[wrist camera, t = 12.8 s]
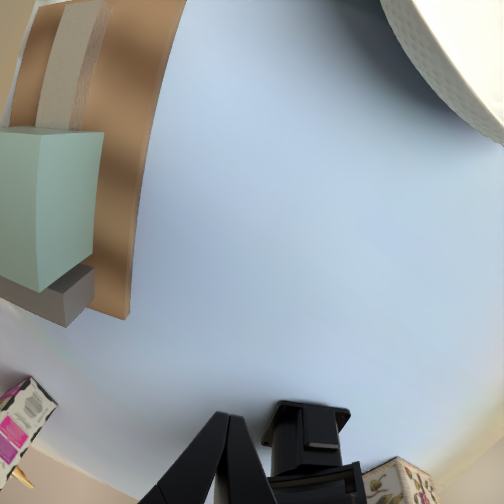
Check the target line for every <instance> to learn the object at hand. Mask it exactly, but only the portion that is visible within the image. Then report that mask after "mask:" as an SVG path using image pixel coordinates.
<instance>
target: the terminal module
mask: <svg viewBox="0 0 504 504" xmlns="http://www.w3.org/2000/svg"><path fill="white" fill-rule="evenodd" d="M104 133H105V132H99V131H71V130H61V129H49V128H35V126H16V127H3V128H0V275H1V276H3V277H5V278H7V279H9V280H11V281H14V282H16V283H18V284H20V285H22V286H25V287H27V288H29V289H31V290H34V291H36V292H38V293H40V292H41V291H43V290H44V289H45V288H47V287H48V286H49V285H50V284H52V283H53V282H54V281H56V280H57V279H58V278H60V277H61V276H62V275H64V274H65V273H66V272H68V271H69V270H70V269H72V268H73V267H74V266H76V265H77V264H78V263H80V262H81V261H83V260H84V259H85V258H87V257H88V256H90V255H91V254H92V253H93V230H94V215H95V202H96V192H97V182H98V174H99V166H100V158H101V152H102V145H103V139H104Z"/></svg>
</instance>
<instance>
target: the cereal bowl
mask: <svg viewBox="0 0 504 504" xmlns="http://www.w3.org/2000/svg"><path fill="white" fill-rule="evenodd" d="M380 2H381V4H382V9H383V10H384V12H385V15H386V18H387V19H388V22H389V25H390V26H391V28H392V30H393V33H394V34H395V35H396V37H397V40H398V41H399V42H400V44H401V46H402V49H403V50H404V51H405V53H406V55H407V56H408V57H409V58H410V60H411V62H412V63H413V64H414V66H415V68H416V69H417V70H418V71H419V72H420V74H421V76H422V77H423V78H424V79H425V80H426V82H427V83H428V84H429V85H430V86H431V88H432V89H433V90H434V91H435V92H436V93H437V95H438V96H439V98H441V99H442V100H443V101H444V102H445V103H446V104H447V105H448V106H449V107H450V109H452V110H453V111H454V112H455V113H456V114H457V115H458V116H459V117H460V118H461V119H462V120H464V121H465V122H467V123H468V124H469V125H470V126H471V127H472V128H474V129H476V130H477V131H479V132H480V133H481V134H483V135H484V136H486V137H488V138H490V139H491V140H493V141H494V142H496V143H499V144H501V145H502V146H504V0H380Z"/></svg>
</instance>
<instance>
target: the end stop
mask: <svg viewBox="0 0 504 504" xmlns="http://www.w3.org/2000/svg"><path fill="white" fill-rule="evenodd" d="M94 272H95V268H93V267H90V266H87V265H84V264H81V263H78V264H77V265H76V266H74V267H73V268H72V269H70V270H69V271H68V272H66V273H65V274H64V275H62V276H61V277H60V278H58V279H57V280H56V281H54V282H53V283H52V284H50V285H49V286H48V287H47V288H45V289H44V290H43V291H41V292H40V293H38V292H36V291H34V290H31V289H29V288H27V287H25V286H22V285H20V284H18V283H16V282H14V281H11V280H9V279H7V278H5V277H3V276H1V275H0V297H1V298H3V299H5V300H7V301H9V302H11V303H13V304H15V305H17V306H19V307H21V308H23V309H25V310H27V311H29V312H32V313H34V314H36V315H38V316H40V317H42V318H45V319H47V320H49V321H51V322H54V323H56V324H58V325H60V326H63V327H65V328H66V327H67V326H68V325H69V324H70V323H71V322H72V321H73V320H74V319H75V318H76V317H77V316H78V315H79V314H80V313H81V312H82V311H83V310H84V309H85V308H86V307H87V306H88V305H89V304H90V303H91V302H92V301H93V300H94V299H95V294H94Z"/></svg>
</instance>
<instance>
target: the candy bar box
mask: <svg viewBox="0 0 504 504" xmlns="http://www.w3.org/2000/svg"><path fill="white" fill-rule="evenodd" d="M56 407H57V404H56V403H55V402H54V401H53V400H52V399H51V398H50V396H49V395H48V394H47V393H46V392H45V391H44V390H43V389H42V388H41V387H40V385H39V384H38V383H37V382H36V381H35V380H34V379H33V378H32V377H28V378H27V379H26V380H24V381H23V382H21V383H20V384H18V385H17V386H15V387H14V388H12V389H11V390H9V391H8V392H6V393H5V394H4V395H3V396H2V397H1V398H0V491H1V489H2V488H3V486H4V485H5V483H6V481H7V480H8V478H9V476H10V475H11V473H12V472H13V470H14V469H15V467H16V466H17V464H18V463H19V461H20V460H21V458H22V456H23V454H24V453H25V452H26V450H27V449H28V447H29V446H30V444H31V443H32V441H33V440H34V438H35V437H36V435H37V434H38V433H39V431H40V430H41V428H42V427H43V425H44V424H45V422H46V421H47V420H48V418H49V417H50V415H51V414H52V412H53V411H54V410H55V408H56Z"/></svg>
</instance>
